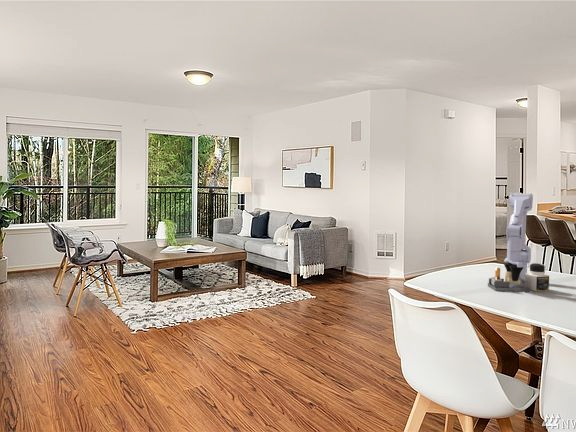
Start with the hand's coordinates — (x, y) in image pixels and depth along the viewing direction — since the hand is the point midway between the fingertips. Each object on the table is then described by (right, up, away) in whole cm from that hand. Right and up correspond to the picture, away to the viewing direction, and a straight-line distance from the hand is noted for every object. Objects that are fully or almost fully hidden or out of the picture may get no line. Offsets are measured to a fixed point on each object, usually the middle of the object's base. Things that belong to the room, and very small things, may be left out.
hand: (512, 279), depth 208 cm
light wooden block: (0, -2, 0) cm, 2 cm away
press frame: (-2, -4, 0) cm, 5 cm away
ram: (-8, -2, +1) cm, 8 cm away
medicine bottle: (+10, -5, -1) cm, 11 cm away
